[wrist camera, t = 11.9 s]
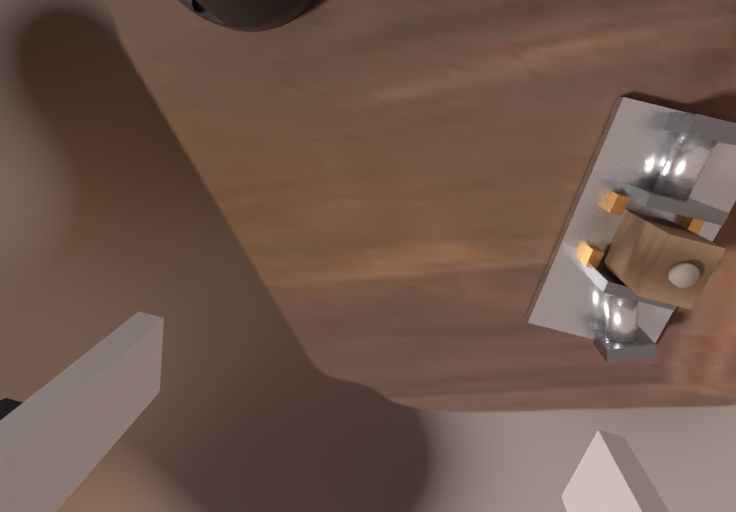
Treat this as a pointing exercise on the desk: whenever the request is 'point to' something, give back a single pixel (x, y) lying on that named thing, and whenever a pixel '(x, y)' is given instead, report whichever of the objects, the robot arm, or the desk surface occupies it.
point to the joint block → (661, 259)
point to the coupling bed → (636, 208)
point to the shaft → (622, 332)
